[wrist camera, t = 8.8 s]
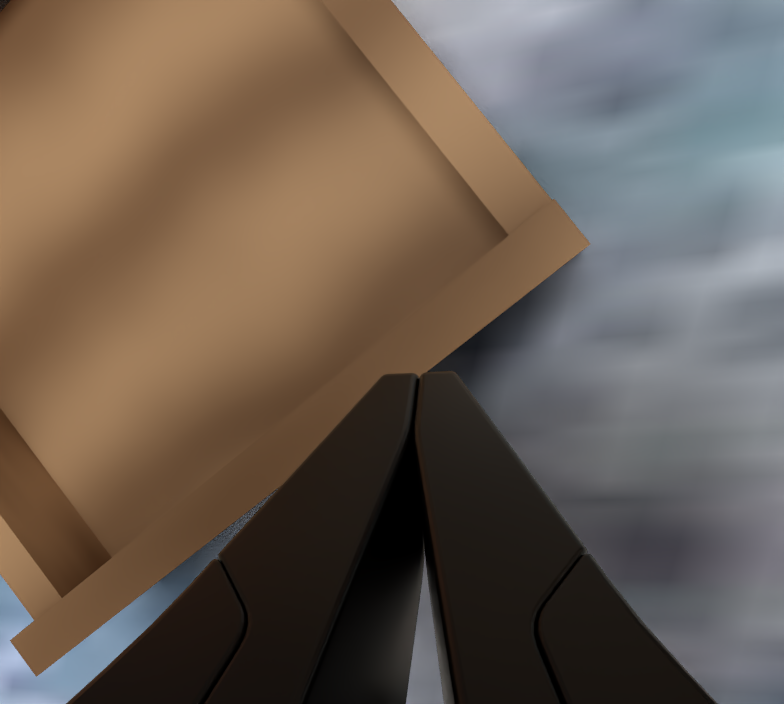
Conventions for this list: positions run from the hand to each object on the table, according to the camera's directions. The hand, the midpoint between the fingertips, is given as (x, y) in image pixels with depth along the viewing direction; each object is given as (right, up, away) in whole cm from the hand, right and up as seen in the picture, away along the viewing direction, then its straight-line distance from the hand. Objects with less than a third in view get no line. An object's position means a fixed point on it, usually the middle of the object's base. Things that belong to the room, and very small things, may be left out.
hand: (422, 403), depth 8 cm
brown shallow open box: (-7, +4, +15) cm, 17 cm away
